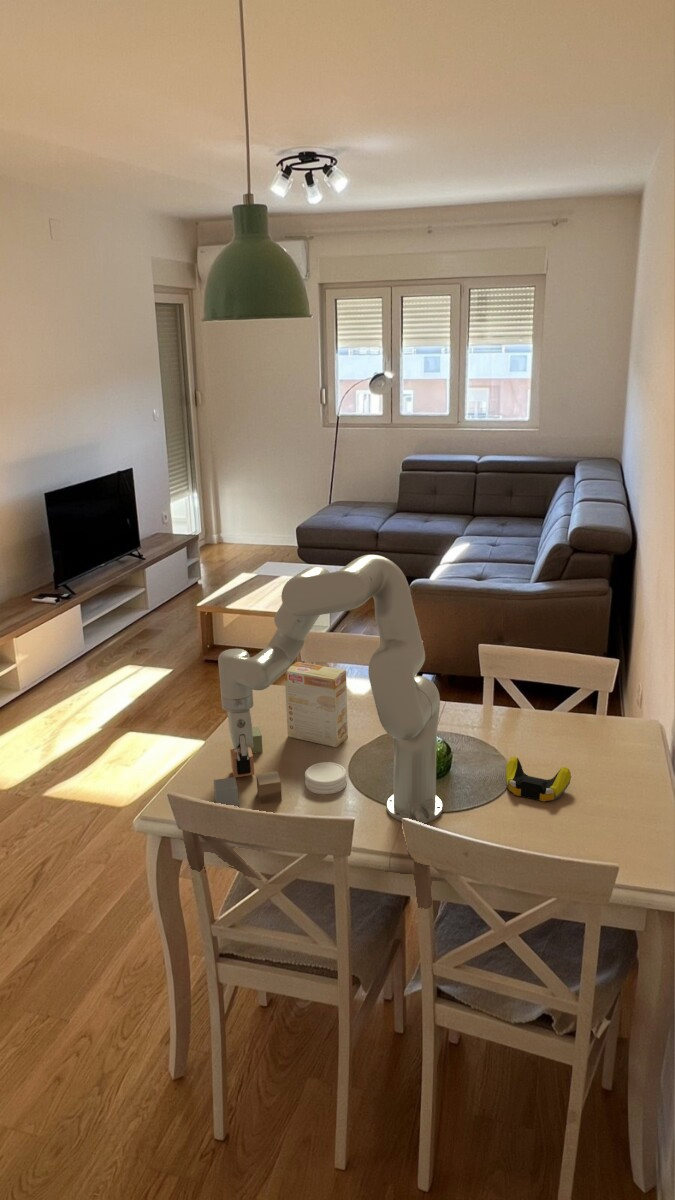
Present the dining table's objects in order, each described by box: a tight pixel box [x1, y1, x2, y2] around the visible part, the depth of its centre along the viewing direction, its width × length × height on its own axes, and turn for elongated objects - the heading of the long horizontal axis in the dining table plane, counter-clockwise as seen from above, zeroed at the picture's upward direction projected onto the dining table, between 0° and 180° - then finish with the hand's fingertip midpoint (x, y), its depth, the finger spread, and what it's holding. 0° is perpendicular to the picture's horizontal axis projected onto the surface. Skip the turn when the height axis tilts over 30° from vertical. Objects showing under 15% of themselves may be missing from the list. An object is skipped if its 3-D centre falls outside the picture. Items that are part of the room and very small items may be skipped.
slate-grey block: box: [213, 776, 240, 807], centre depth 191 cm, size 5×5×5 cm
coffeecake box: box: [284, 661, 349, 748], centre depth 218 cm, size 15×7×20 cm, turn 63°
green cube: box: [248, 726, 264, 754], centre depth 215 cm, size 5×5×5 cm
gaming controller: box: [505, 756, 572, 802], centre depth 193 cm, size 15×6×10 cm
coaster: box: [304, 761, 348, 795], centre depth 198 cm, size 10×10×4 cm
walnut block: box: [255, 770, 283, 804], centre depth 193 cm, size 5×5×5 cm
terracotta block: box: [229, 747, 255, 778], centre depth 203 cm, size 5×5×5 cm
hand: (242, 767), depth 203 cm, fingers closed on terracotta block, 4 cm apart
